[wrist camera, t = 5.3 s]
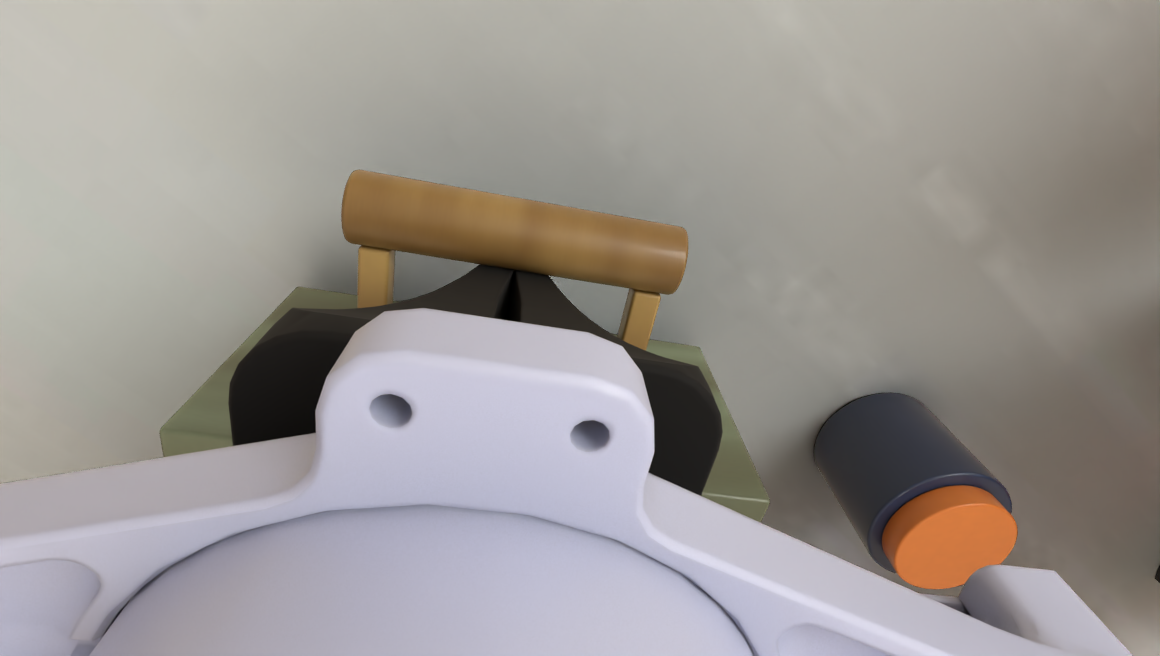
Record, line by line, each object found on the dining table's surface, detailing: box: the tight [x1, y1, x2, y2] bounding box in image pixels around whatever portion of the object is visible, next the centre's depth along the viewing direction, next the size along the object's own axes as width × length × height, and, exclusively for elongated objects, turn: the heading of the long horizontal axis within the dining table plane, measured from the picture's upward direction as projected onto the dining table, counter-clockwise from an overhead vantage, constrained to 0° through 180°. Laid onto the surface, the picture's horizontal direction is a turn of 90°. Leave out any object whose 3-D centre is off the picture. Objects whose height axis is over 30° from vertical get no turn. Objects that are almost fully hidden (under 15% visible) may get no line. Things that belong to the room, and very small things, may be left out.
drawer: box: [160, 170, 770, 523], centre depth 16 cm, size 18×12×7 cm, turn 169°
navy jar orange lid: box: [814, 393, 1018, 589], centre depth 19 cm, size 4×4×5 cm
